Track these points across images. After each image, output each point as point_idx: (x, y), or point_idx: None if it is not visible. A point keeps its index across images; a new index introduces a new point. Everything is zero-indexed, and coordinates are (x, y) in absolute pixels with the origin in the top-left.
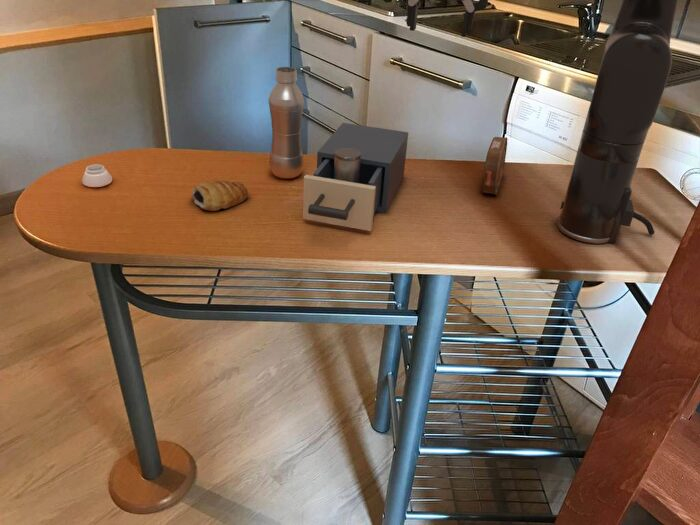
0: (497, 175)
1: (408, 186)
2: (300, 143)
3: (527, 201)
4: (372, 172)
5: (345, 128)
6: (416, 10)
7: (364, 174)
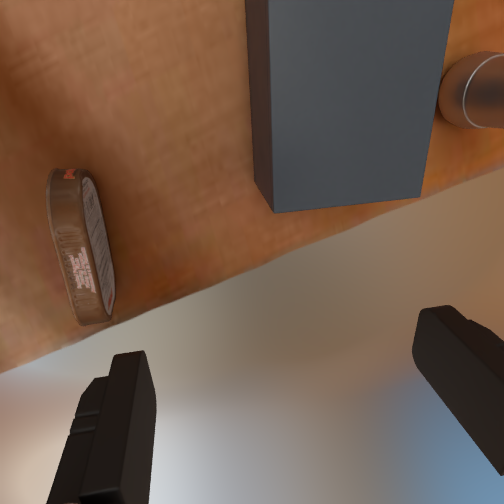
0: (49, 175)
1: (236, 151)
2: (482, 99)
3: (6, 193)
4: None
5: (410, 164)
6: (497, 410)
7: None
